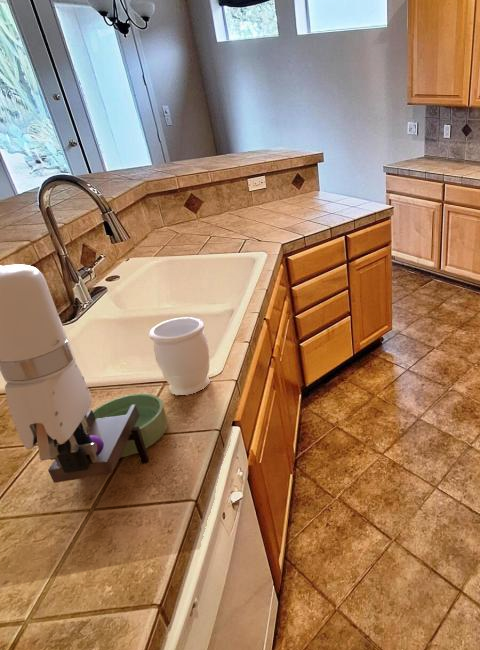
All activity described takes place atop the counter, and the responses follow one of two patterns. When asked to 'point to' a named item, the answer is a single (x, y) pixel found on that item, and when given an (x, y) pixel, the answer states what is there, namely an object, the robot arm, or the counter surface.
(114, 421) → the scoop
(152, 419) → the bowl
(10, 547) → the counter surface
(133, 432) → the bracket
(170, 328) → the jar
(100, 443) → the ball
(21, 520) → the counter surface
